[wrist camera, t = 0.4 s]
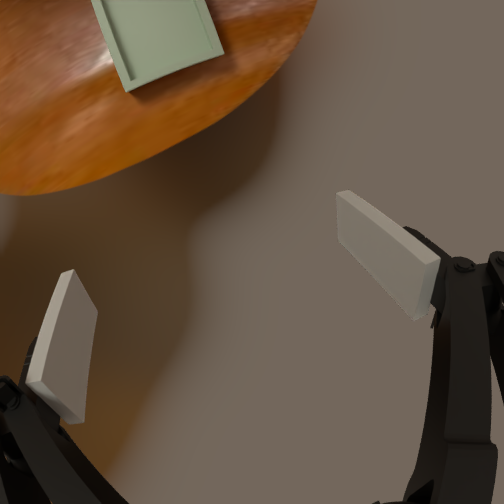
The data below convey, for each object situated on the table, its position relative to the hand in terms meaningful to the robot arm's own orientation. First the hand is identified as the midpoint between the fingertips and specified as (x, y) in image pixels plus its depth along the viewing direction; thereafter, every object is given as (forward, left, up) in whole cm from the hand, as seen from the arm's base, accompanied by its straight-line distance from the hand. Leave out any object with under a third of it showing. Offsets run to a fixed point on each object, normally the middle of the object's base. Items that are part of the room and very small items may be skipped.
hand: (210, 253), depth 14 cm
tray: (-18, +3, -27) cm, 33 cm away
